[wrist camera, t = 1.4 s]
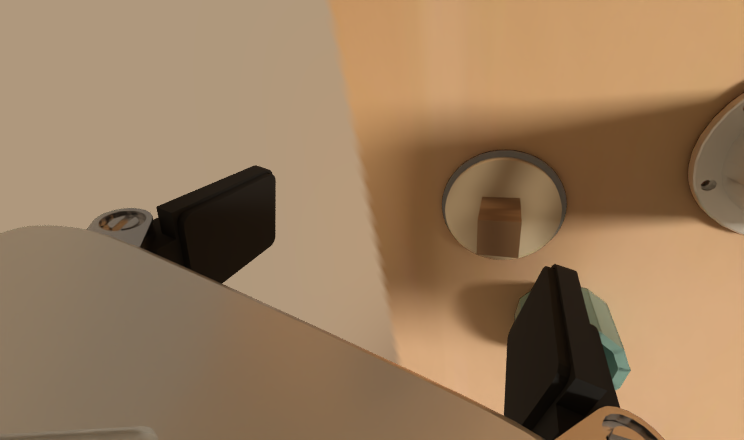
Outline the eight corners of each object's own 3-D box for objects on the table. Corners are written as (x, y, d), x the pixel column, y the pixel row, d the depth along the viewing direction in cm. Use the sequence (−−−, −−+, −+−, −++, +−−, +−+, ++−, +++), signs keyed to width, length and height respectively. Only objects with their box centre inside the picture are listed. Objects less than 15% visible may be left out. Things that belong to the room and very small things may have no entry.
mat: (596, 201, 28) (597, 203, 28) (504, 274, 35) (504, 276, 34) (495, 124, 29) (495, 125, 28) (421, 210, 35) (420, 211, 34)
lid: (567, 156, 27) (581, 180, 22) (552, 258, 31) (560, 298, 26) (446, 157, 31) (433, 178, 26) (447, 248, 35) (436, 282, 30)
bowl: (632, 323, 32) (655, 373, 27) (559, 361, 37) (567, 409, 32) (561, 268, 32) (571, 308, 27) (498, 313, 37) (496, 354, 32)
